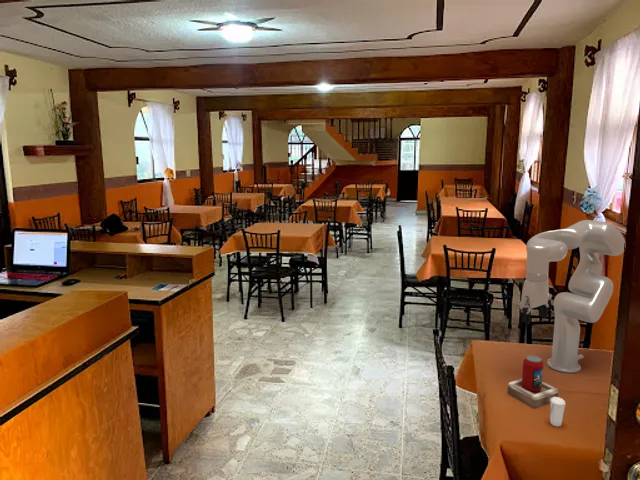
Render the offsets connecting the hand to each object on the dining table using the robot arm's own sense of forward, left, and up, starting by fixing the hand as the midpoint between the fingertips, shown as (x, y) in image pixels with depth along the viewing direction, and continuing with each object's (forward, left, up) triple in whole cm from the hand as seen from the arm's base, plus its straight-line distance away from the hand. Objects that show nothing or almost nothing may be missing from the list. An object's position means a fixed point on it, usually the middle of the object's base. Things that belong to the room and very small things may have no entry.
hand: (534, 319), depth 184 cm
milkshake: (+15, +23, -26) cm, 38 cm away
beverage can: (+7, +7, -23) cm, 25 cm away
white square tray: (+7, +7, -26) cm, 28 cm away
